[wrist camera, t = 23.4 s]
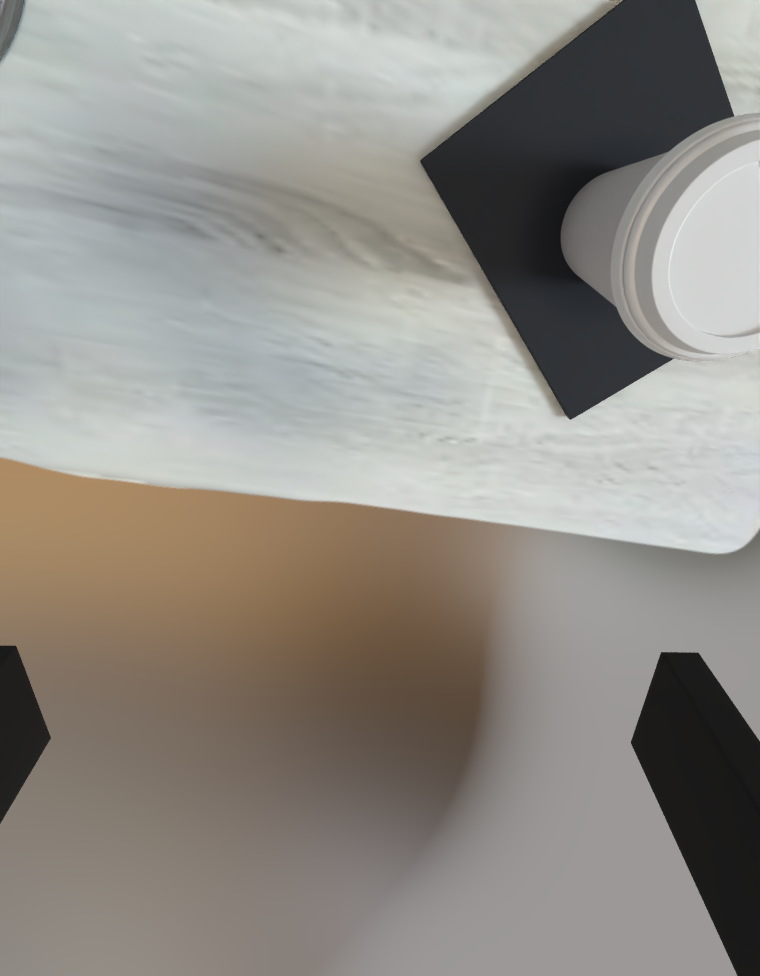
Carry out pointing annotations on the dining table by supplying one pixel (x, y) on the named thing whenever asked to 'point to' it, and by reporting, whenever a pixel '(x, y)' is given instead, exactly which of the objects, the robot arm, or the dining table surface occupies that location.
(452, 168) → the placemat
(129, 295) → the dining table surface
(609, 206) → the coffee cup
